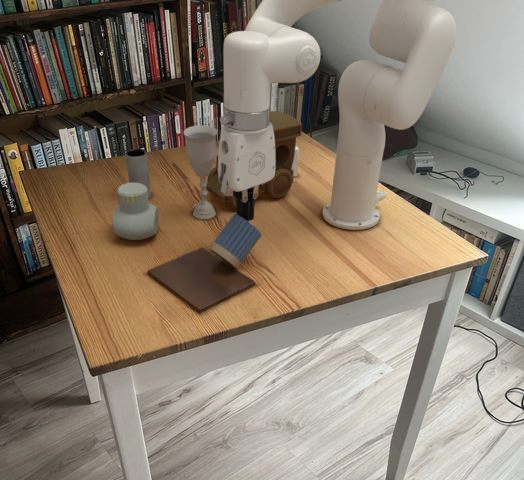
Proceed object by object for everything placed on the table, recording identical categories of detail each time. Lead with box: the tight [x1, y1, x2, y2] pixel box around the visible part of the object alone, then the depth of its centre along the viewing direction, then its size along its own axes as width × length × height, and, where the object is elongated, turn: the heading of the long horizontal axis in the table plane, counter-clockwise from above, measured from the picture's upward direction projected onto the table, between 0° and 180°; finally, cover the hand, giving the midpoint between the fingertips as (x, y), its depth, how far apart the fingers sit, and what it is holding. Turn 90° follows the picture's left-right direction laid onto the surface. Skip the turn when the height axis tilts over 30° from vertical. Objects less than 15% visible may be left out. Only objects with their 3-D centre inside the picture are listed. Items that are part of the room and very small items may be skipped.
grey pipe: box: [125, 148, 152, 199], centre depth 127 cm, size 4×4×10 cm
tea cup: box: [208, 213, 262, 270], centre depth 106 cm, size 8×7×7 cm
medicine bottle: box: [291, 145, 300, 178], centre depth 138 cm, size 7×7×12 cm
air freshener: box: [112, 182, 160, 241], centre depth 114 cm, size 11×8×10 cm
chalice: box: [183, 124, 219, 220], centre depth 119 cm, size 7×7×18 cm
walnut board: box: [147, 247, 256, 314], centre depth 105 cm, size 13×16×1 cm
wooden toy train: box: [205, 110, 303, 210], centre depth 127 cm, size 20×11×17 cm, turn 124°
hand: (245, 217), depth 105 cm, fingers closed
